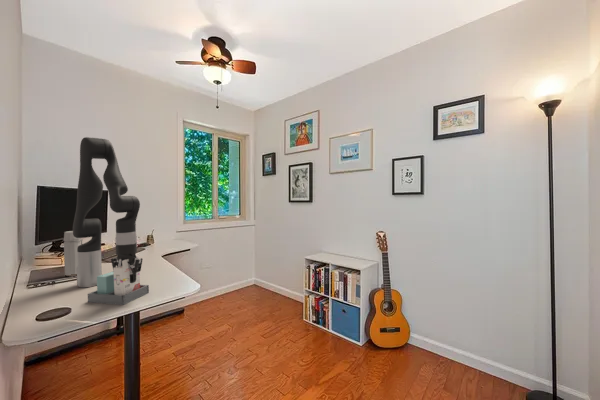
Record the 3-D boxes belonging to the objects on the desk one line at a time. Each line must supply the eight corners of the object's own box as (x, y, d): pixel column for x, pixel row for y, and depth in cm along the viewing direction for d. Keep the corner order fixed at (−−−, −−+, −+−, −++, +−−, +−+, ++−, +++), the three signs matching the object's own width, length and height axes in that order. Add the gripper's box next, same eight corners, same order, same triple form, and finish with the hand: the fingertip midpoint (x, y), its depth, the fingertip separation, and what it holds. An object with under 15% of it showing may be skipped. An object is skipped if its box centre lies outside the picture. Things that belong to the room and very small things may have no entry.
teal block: (97, 300, 108) (96, 276, 108) (115, 292, 116) (115, 270, 116) (106, 300, 107) (106, 277, 107) (124, 293, 115) (123, 271, 115)
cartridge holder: (87, 303, 106) (87, 293, 106) (116, 291, 119) (116, 283, 119) (123, 306, 103) (123, 296, 103) (148, 293, 115) (148, 285, 115)
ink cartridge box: (131, 288, 114) (130, 255, 114) (140, 289, 113) (139, 255, 113) (113, 295, 106) (112, 260, 106) (123, 296, 105) (122, 260, 105)
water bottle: (67, 278, 140) (65, 232, 140) (62, 276, 144) (61, 231, 144) (87, 274, 148) (86, 230, 147) (82, 272, 152) (81, 230, 152)
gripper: (104, 243, 107) (105, 284, 107) (133, 244, 104) (134, 286, 105) (119, 240, 115) (120, 278, 115) (147, 241, 112) (148, 280, 112)
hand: (127, 281), depth 110 cm, fingers closed on ink cartridge box, 5 cm apart
